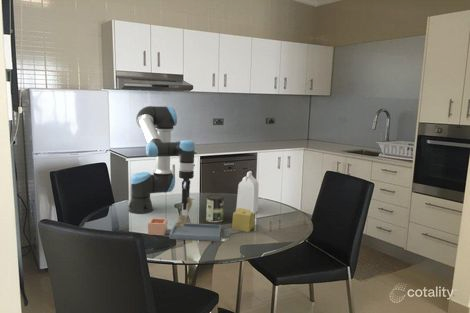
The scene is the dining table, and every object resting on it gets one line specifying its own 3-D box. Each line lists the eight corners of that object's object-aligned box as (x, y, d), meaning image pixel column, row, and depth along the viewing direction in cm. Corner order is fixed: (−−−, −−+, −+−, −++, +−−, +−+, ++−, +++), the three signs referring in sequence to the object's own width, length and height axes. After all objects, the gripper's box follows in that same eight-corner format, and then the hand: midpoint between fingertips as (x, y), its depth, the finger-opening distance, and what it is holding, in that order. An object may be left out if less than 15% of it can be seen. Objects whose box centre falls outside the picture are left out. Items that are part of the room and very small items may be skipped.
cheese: (254, 227, 218) (255, 210, 217) (249, 233, 208) (250, 215, 207) (237, 224, 222) (238, 207, 220) (231, 230, 212) (231, 212, 210)
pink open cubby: (147, 234, 199) (148, 223, 198) (151, 228, 207) (151, 218, 207) (164, 235, 199) (164, 224, 198) (167, 229, 207) (167, 218, 207)
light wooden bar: (175, 228, 201) (177, 198, 198) (176, 225, 204) (178, 196, 202) (191, 229, 201) (193, 199, 198) (192, 227, 204) (194, 197, 202)
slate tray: (169, 238, 194) (169, 234, 194) (175, 226, 212) (175, 222, 212) (219, 241, 194) (219, 236, 194) (221, 229, 212) (221, 224, 212)
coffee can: (224, 217, 232) (225, 195, 230) (220, 223, 222) (221, 199, 220) (208, 216, 234) (209, 193, 232) (203, 221, 224) (204, 197, 222)
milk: (253, 215, 240) (255, 174, 236) (235, 212, 244) (237, 172, 240) (258, 210, 251) (260, 171, 247) (241, 207, 255) (243, 169, 251)
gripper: (191, 173, 190) (190, 219, 193) (195, 167, 206) (194, 209, 210) (176, 173, 190) (175, 218, 193) (181, 167, 206) (180, 209, 210)
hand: (185, 213), depth 201 cm, fingers closed on light wooden bar, 4 cm apart
